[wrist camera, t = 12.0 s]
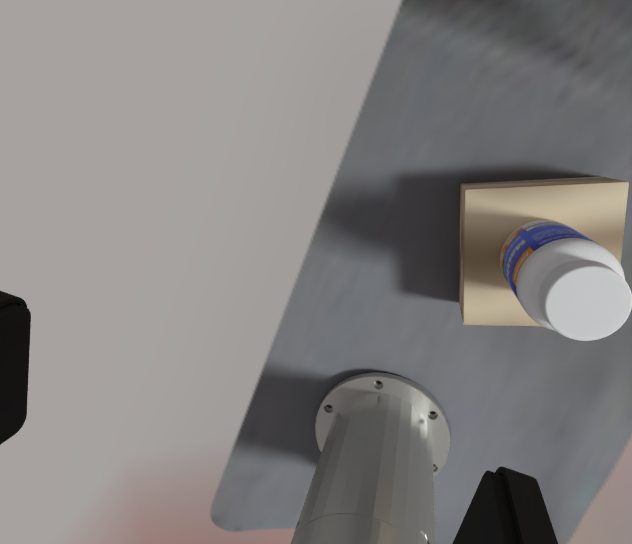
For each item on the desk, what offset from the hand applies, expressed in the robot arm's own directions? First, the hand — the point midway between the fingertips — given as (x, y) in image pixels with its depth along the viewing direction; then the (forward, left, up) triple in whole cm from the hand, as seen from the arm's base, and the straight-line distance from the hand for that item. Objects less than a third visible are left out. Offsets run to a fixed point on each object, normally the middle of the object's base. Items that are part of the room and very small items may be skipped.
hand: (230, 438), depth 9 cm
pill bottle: (-3, -11, -27) cm, 29 cm away
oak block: (-3, -11, -32) cm, 34 cm away
